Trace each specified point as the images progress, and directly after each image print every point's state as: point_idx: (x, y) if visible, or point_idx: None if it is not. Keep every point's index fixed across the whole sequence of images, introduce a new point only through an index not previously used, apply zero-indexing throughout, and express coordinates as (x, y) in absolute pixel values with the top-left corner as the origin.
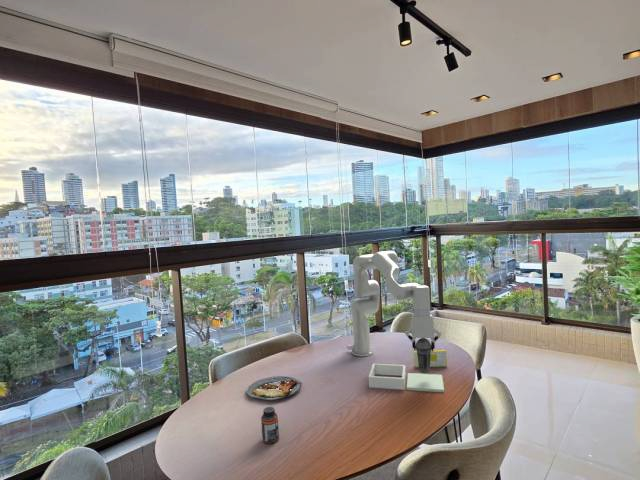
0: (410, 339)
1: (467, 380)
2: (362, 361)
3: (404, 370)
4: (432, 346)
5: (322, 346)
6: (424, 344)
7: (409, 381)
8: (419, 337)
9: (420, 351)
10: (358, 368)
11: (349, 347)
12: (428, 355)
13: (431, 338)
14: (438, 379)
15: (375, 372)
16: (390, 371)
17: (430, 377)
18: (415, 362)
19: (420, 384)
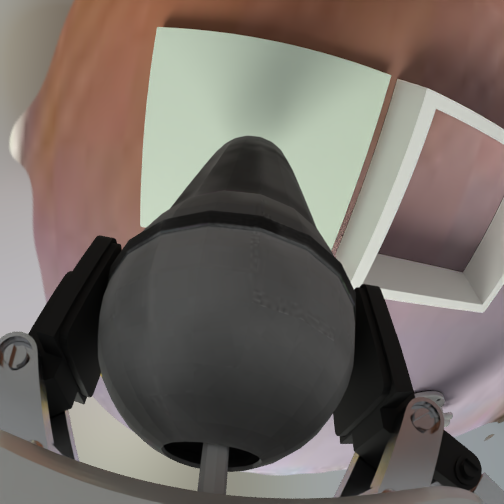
0: (446, 436)
1: (40, 183)
2: (444, 365)
3: (381, 221)
4: (74, 282)
5: (476, 418)
6: (211, 312)
7: (353, 150)
8: (332, 501)
9: (305, 226)
10: (485, 318)
11: (449, 418)
12: (185, 197)
13: (24, 418)
14: (165, 166)
15: (465, 277)
16: (414, 272)
17: None
18: None
19: (294, 100)
